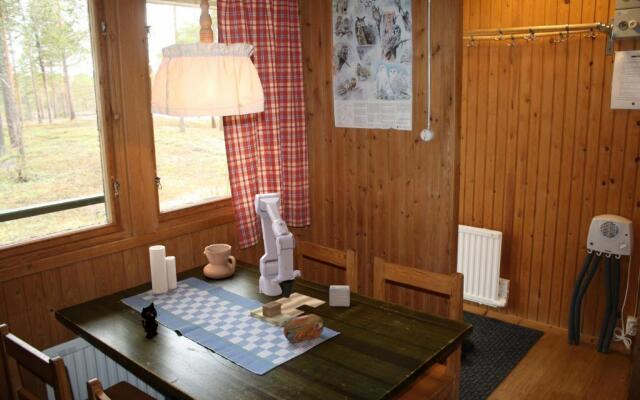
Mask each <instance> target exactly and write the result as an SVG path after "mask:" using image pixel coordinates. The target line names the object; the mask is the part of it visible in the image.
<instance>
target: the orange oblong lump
mask: <svg viewBox="0 0 640 400" xmlns="http://www.w3.org/2000/svg"><path fill="white" fill-rule="evenodd" d="M324 329H325V322H324V319H323V318H322V317H321V316H319V315H317V314H314V313H309V314H306V315H302V316H301V315H300V316H296V317H293V318H291V319H289V320H287V323H286V324H285V325H284V326H283V335H284V337H285V339H286V340H287V341H288V342H290V343H292V344H297V343H302V342H305V341H310V340H312V339H313V340H314V339H317V338H318V337H320V336H321V334H323V331H324Z"/></svg>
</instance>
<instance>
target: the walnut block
mask: <svg viewBox="0 0 640 400" xmlns="http://www.w3.org/2000/svg"><path fill="white" fill-rule="evenodd" d="M275 301H276V300H273V301H270V302H267V303H265V304H262V306H261V307H262V310H263V316H266V317H269V318H271V317H273V316H276V315H278V314H280V313H281V306H282V304H281V303H278V302H275Z"/></svg>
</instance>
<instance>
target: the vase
mask: <svg viewBox="0 0 640 400" xmlns="http://www.w3.org/2000/svg"><path fill="white" fill-rule="evenodd" d="M148 251H149V260H150V261H149V263H150V275H151V285H152V288H151V289H152V293H153V294H157V295H161V294H165V293H167V292H168V291H169V290H170V291H171V290H174V289H176V288H178V283H177V282H178V281H177V272H176V271H177V270H176V268H177V267H176V257H175V256H174V255H173V256H172V255H171V256H166V247H165V246H164V245H154V246H153V245H151V246H150V247H149V248H148Z"/></svg>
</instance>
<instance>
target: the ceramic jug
mask: <svg viewBox="0 0 640 400" xmlns="http://www.w3.org/2000/svg"><path fill="white" fill-rule="evenodd" d="M231 253H232V246H231V245H229V244H227V243H226V244H225V243H219V244H218V243H216V244H210V245H209V246H206V247H205V248H204V252H203V254H204V255H206V258H207V260H208V262H209V263H208V264H207V265H205V266H204V267H203V274H204V275H205V276H206V277H208V278H209V279H215V280H217V279H219V280H221V279H225V278H229V277H231V276H232V275H233V274H234V273H235V267H236V258H235V257H234V256H233V255H231ZM229 260H231V262H232V263H230V262H229Z"/></svg>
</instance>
